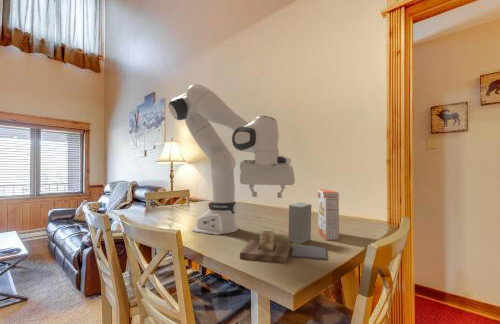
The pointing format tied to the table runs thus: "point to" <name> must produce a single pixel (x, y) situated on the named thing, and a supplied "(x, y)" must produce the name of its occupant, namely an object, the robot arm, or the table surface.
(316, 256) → the rubber mat
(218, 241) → the table surface
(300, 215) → the skincare box
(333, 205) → the cracker box
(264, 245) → the maple block
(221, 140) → the robot arm
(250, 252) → the pocket plate
